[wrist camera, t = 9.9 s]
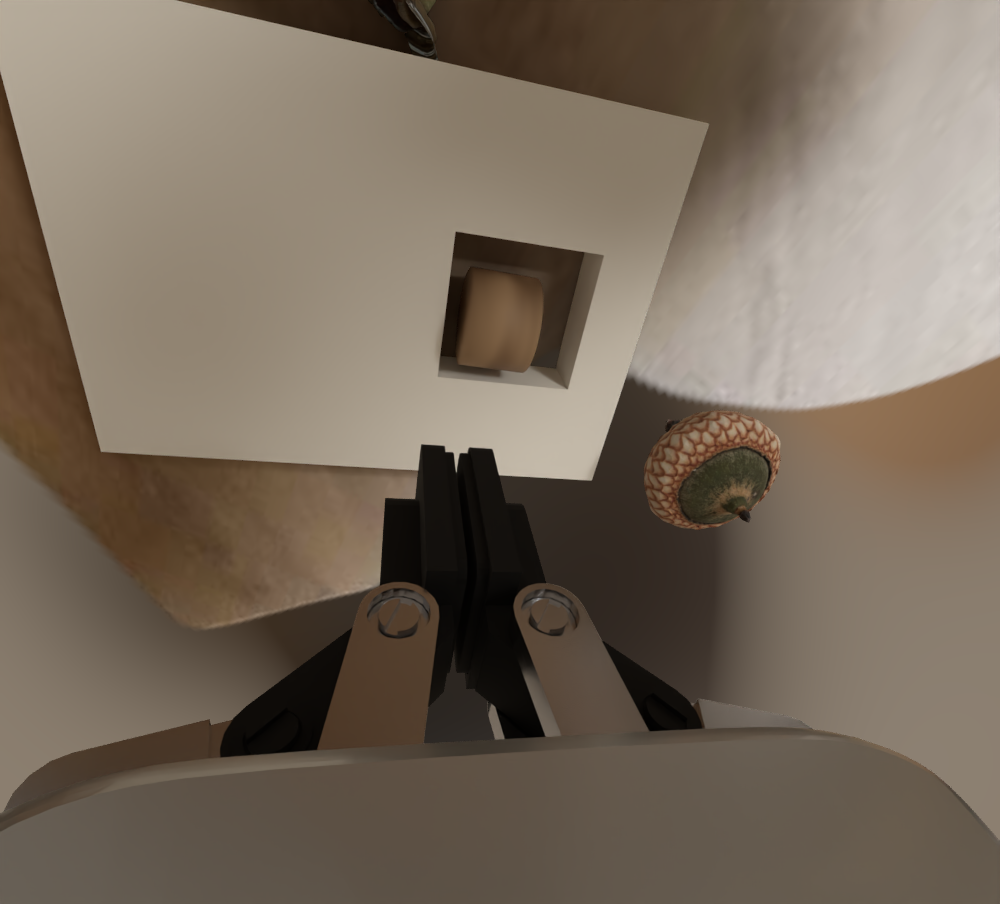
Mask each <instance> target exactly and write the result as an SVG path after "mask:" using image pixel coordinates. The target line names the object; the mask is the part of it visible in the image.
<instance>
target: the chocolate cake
mask: <svg viewBox="0 0 1000 904" xmlns="http://www.w3.org/2000/svg"><path fill="white" fill-rule="evenodd" d="M368 1H369V2H370V3H371V4H373V5H374V7H375V8H376V9H377V11H378V13H379V14H380V16H381V17H383V16H385V17H386V18H387V19H388V21H389V22H390V23H391V24H393V26H394V27H395V28H396V29H397V30H399V31H400V32H407V33H405V36H406V38H407V40H408V42H409V45H410V49H411V52H412V54H413V55H415V56H419V57H423V58H428V59H432V60H436V61H439V60H438V57H437V52H436V49H435V43H436V40H437V35H436V33H435V26H434V24H433V22H432V21H431V19H430V18H429V17H428V16H427V13H428V12H429V11H430V9H431V7H432V6H433V5H434V4H435V2H436V0H368Z"/></svg>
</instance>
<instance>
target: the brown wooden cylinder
mask: <svg viewBox="0 0 1000 904" xmlns="http://www.w3.org/2000/svg"><path fill="white" fill-rule="evenodd" d="M542 317H543V290H542V285H541V282H540V280H539V279H537V278H532V277H527V276H521V275H516V274H510V273H504V272H499V271H493V270H487V269H482V268H476V267H470V268H469V270H468V272H467V274H466V277H465V281H464V285H463V289H462V294H461V299H460V305H459V312H458V320H457V331H456V360H457V364H458V365H466V366H473V367H481V368H488V369H496V370H504V371H511V372H519V373H524V372H525V371H526V370H527V369H528V368H529V366H530V364H531V362H532V360H533V357H534V355H535V352H536V348H537V345H538V341H539V336H540V331H541V325H542Z"/></svg>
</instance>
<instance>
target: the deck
mask: <svg viewBox="0 0 1000 904" xmlns="http://www.w3.org/2000/svg"><path fill="white" fill-rule="evenodd" d="M0 72H1V76H2V80H3V83H4V87H5V91H6V95H7V98H8V102H9V106H10V110H11V114H12V117H13V121H14V125H15V129H16V132H17V136H18V140H19V144H20V148H21V151H22V155H23V159H24V163H25V166H26V170H27V174H28V178H29V182H30V185H31V189H32V193H33V197H34V200H35V204H36V208H37V212H38V216H39V219H40V223H41V227H42V231H43V234H44V238H45V242H46V246H47V250H48V253H49V257H50V261H51V265H52V268H53V272H54V276H55V280H56V284H57V287H58V291H59V295H60V299H61V303H62V306H63V310H64V314H65V318H66V321H67V325H68V329H69V333H70V337H71V340H72V344H73V348H74V352H75V355H76V359H77V363H78V367H79V371H80V374H81V378H82V382H83V386H84V389H85V393H86V397H87V401H88V405H89V408H90V412H91V416H92V420H93V423H94V427H95V431H96V435H97V439H98V442H99V446H100V450H101V452H113V453H130V454H147V455H164V456H181V457H198V458H215V459H232V460H249V461H266V462H283V463H300V464H317V465H334V466H351V467H368V468H385V469H402V470H418V468H419V458H420V449H421V444H425V445H441V446H445V451H446V452H453V453H454V460H455V468H456V472H457V465H458V459H459V454H460V453H467V452H468V449H469V447H472V448H488V449H493V452H494V457H495V461H496V465H497V469H498V473H499V475H505V476H522V477H539V478H556V479H573V480H591V481H592V478H593V475H594V472H595V469H596V466H597V463H598V460H599V457H600V454H601V451H602V448H603V445H604V442H605V439H606V435H607V433H608V430H609V427H610V423H611V421H612V418H613V415H614V412H615V409H616V405H617V403H618V400H619V397H620V393H621V390H622V387H623V384H624V381H625V378H626V375H627V372H628V369H629V366H630V363H631V360H632V357H633V354H634V351H635V348H636V345H637V342H638V339H639V336H640V333H641V330H642V327H643V324H644V321H645V318H646V315H647V312H648V309H649V306H650V302H651V299H652V296H653V293H654V290H655V287H656V284H657V281H658V278H659V275H660V272H661V269H662V266H663V263H664V260H665V257H666V254H667V251H668V248H669V245H670V242H671V239H672V236H673V233H674V230H675V227H676V224H677V221H678V218H679V215H680V211H681V208H682V205H683V202H684V199H685V196H686V193H687V190H688V187H689V184H690V181H691V178H692V175H693V172H694V169H695V166H696V163H697V160H698V157H699V154H700V151H701V148H702V145H703V142H704V139H705V136H706V133H707V130H708V127H709V123H705V122H701V121H696V120H692V119H688V118H683V117H679V116H675V115H670V114H666V113H662V112H657V111H653V110H649V109H644V108H640V107H636V106H631V105H627V104H623V103H618V102H614V101H610V100H605V99H601V98H597V97H592V96H588V95H584V94H579V93H575V92H571V91H566V90H562V89H558V88H553V87H549V86H545V85H540V84H536V83H532V82H527V81H523V80H519V79H514V78H510V77H506V76H501V75H497V74H493V73H488V72H484V71H480V70H475V69H471V68H467V67H462V66H458V65H454V64H449V63H445V62H441V61H436V60H432V59H428V58H423V57H419V56H415V55H410V54H406V53H402V52H397V51H393V50H389V49H384V48H380V47H376V46H371V45H367V44H363V43H358V42H354V41H350V40H345V39H341V38H337V37H332V36H328V35H324V34H319V33H315V32H311V31H306V30H302V29H298V28H293V27H289V26H285V25H280V24H276V23H272V22H267V21H263V20H259V19H254V18H250V17H246V16H241V15H237V14H233V13H229V12H224V11H220V10H216V9H211V8H207V7H203V6H198V5H194V4H190V3H185V2H181V1H177V0H0ZM455 232H462V233H468V234H474V235H481V236H487V237H493V238H499V239H506V240H512V241H518V242H524V243H531V244H537V245H543V246H549V247H555V248H562V249H568V250H574V251H580V252H585V253H584V257H583V261H582V265H581V269H580V273H579V277H578V281H577V284H576V288H575V292H574V296H573V300H572V304H571V308H570V312H569V316H568V320H567V324H566V328H565V332H564V336H563V340H562V344H561V348H560V352H559V356H558V361H557V365H556V368H549V367H539V366H529V368H528V369H527V370H526V371H525V372H524V373H519V372H511V371H504V370H496V369H488V368H481V367H473V366H466V365H458V364H457V360H456V357H447V356H440V353H441V345H442V337H443V329H444V320H445V312H446V304H447V296H448V288H449V280H450V272H451V264H452V256H453V248H454V240H455Z"/></svg>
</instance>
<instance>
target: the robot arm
mask: <svg viewBox="0 0 1000 904" xmlns="http://www.w3.org/2000/svg"><path fill="white" fill-rule="evenodd" d="M453 651H454V654H455V665H456V671H457V673H465V678H466V689H475V690H476V692H478V693H479V694H480V695H481V696H483V697H484V698H485V699H486V700H488V704H487V708H488V715H489V719H490V722H491V726H492V729H493V733H494V736H495V740H483V741H464V742H446V743H430V744H423V741H424V734H425V726H426V718H427V710H428V707H429V706H430V705H431V704H432V703H433V702H434V701H435V700H436V699H437V698H438V697H439V696H440V695H441V694H442V693H443V692H444V686H445V681H446V676H447V673H449V672H450V667H451V662H452V657H453ZM0 904H1000V840H999V839H998V838H997V837H996V836H995V835H994V833H993V832H992V831H991V830H990V829H989V828H988V827H987V825H986V824H985V823H984V822H983V821H982V820H981V819H980V818H979V816H978V815H977V814H976V813H975V812H974V811H973V810H972V809H971V808H970V807H969V806H968V804H967V803H966V802H965V801H964V800H963V799H962V798H961V797H960V796H959V795H958V794H956V792H955V791H954V790H953V789H952V788H950V786H949V785H947V784H946V783H945V782H944V781H943V780H942V779H940V778H939V777H938V776H937V775H936V774H935V773H933V772H932V771H930V770H928V769H927V768H926V767H924V766H923V765H921V764H919V763H918V762H916V761H914V760H912V759H910V758H908V757H906V756H904V755H902V754H900V753H898V752H895V751H893V750H891V749H888V748H885V747H883V746H880V745H877V744H874V743H871V742H868V741H865V740H862V739H859V738H856V737H852V736H847V735H842V734H838V733H833V732H828V731H822V730H814V729H812V728H811V727H809V726H808V725H806V724H805V723H803V722H802V721H800V720H798V719H795V718H792V717H789V716H786V715H780V714H775V713H770V712H765V711H760V710H755V709H749V708H744V707H739V706H734V705H729V704H724V703H719V702H713V701H708V700H703V699H697V701H696V703H695V704H694V703H690V702H689V701H688V700H687V699H686V698H685V697H684V696H683V695H681V694H680V693H679V692H678V691H677V690H675V689H674V688H672V687H671V686H669V685H668V684H666V683H665V682H663V681H662V680H660V679H659V678H657V677H656V676H654V675H653V674H651V673H650V672H648V671H647V670H645V669H644V668H642V667H641V666H639V665H638V664H636V663H635V662H633V661H632V660H630V659H629V658H627V657H626V656H625V655H623V654H622V653H620V652H619V651H617V650H615V649H614V648H613V647H611V646H609V645H608V644H607V643H605V642H604V641H602V640H601V639H600V637H599V635H598V633H597V631H596V629H595V627H594V625H593V623H592V621H591V619H590V617H589V616H588V614H587V612H586V610H585V608H584V607H583V605H582V604H581V602H580V601H579V600H578V598H577V597H575V596H574V595H573V594H572V593H571V592H569V591H567V590H566V589H564V588H562V587H560V586H556V585H552V584H547V583H546V581H545V577H544V574H543V570H542V567H541V564H540V560H539V556H538V553H537V549H536V546H535V542H534V539H533V535H532V532H531V528H530V525H529V522H528V518H527V514H526V511H525V508H524V506H523V505H522V504H515V503H506V502H505V498H504V494H503V490H502V486H501V482H500V477H499V473H498V469H497V465H496V461H495V457H494V452H493V449H488V448H472V447H469V449H468V452H467V453H460V454H459V459H458V465H457V472H456V468H455V460H454V453H453V452H446V451H445V446H441V445H425V444H421V449H420V458H419V468H418V477H417V487H416V497H415V499H394V498H385V511H384V527H383V543H382V559H381V576H380V586H379V587H377V588H375V589H373V590H371V591H370V592H369V594H367V595H366V596H365V597H364V599H363V600H362V602H361V604H360V606H359V609H358V612H357V616H356V619H355V622H354V626H353V627H352V628H351V629H350V630H349V631H347V632H346V633H344V634H343V635H342V636H340V637H339V638H338V639H336V640H335V641H334V642H332V643H331V644H330V645H328V646H327V647H326V648H324V649H323V650H322V651H320V652H319V653H317V654H316V655H315V656H313V657H312V658H311V659H310V660H308V661H307V662H305V663H304V664H303V665H301V666H300V667H299V668H297V669H296V670H295V671H293V672H292V673H291V674H289V675H288V676H287V677H285V678H284V679H282V680H281V681H280V682H279V683H277V684H276V685H274V686H273V687H272V688H271V689H269V690H268V691H266V692H265V693H264V694H262V695H261V696H260V697H258V698H257V699H256V700H255V701H253V702H252V703H250V704H249V705H248V706H246V707H245V708H244V709H243V710H242V711H241V712H240V713H239V714H238V715H237V716H235V717H234V718H233V720H230V721H226V722H222V723H218V724H214V725H211V723H210V720H205V721H200V722H196V723H192V724H188V725H184V726H180V727H176V728H172V729H168V730H164V731H160V732H156V733H152V734H148V735H144V736H139V737H135V738H132V739H127V740H123V741H119V742H115V743H111V744H107V745H103V746H99V747H95V748H90V749H86V750H83V751H78V752H74V753H71V754H68V755H65V756H63V757H60V758H58V759H55V760H52V761H50V762H49V763H47V764H46V765H44V766H43V767H41V768H40V769H39V770H37V771H35V772H34V773H32V774H31V775H30V776H29V777H28V778H27V779H26V780H25V781H24V782H23V783H22V784H21V785H20V786H19V787H18V788H17V789H16V790H15V792H14V793H13V794H12V796H11V798H10V800H9V802H8V804H7V806H6V808H5V810H4V811H3V812H2V813H0Z"/></svg>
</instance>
